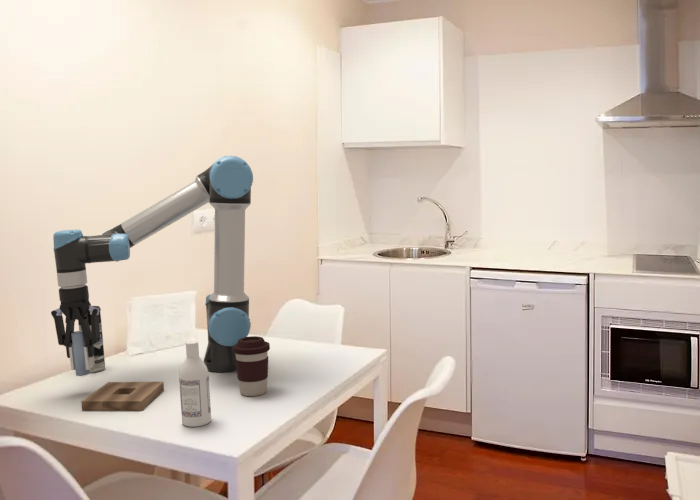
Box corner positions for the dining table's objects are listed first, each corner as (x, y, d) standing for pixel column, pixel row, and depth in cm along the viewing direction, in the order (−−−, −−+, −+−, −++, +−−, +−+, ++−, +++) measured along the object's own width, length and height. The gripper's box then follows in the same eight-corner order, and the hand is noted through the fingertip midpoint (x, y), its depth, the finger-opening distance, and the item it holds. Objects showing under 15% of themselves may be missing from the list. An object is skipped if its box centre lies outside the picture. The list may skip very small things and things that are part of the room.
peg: (92, 371, 191) (87, 330, 190) (86, 375, 188) (81, 333, 186) (79, 372, 192) (75, 330, 190) (73, 376, 188) (68, 334, 187)
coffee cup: (231, 390, 189) (228, 337, 187) (266, 384, 192) (263, 333, 191) (240, 400, 179) (237, 345, 178) (276, 394, 183) (273, 340, 182)
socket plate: (164, 390, 190) (163, 381, 190) (141, 410, 174) (141, 401, 174) (109, 390, 192) (108, 382, 191) (82, 410, 176) (81, 401, 176)
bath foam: (199, 415, 170) (194, 337, 167) (217, 421, 165) (212, 340, 163) (176, 423, 165) (171, 343, 162) (193, 429, 160) (188, 347, 158)
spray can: (97, 373, 209) (92, 309, 206) (77, 373, 210) (72, 309, 208) (109, 367, 215) (104, 305, 213) (90, 366, 217) (85, 305, 214)
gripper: (108, 282, 190) (116, 363, 193) (51, 284, 191) (60, 365, 194) (95, 287, 182) (104, 371, 185) (37, 289, 184) (46, 373, 187)
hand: (82, 368), depth 190 cm, fingers closed on peg, 3 cm apart
